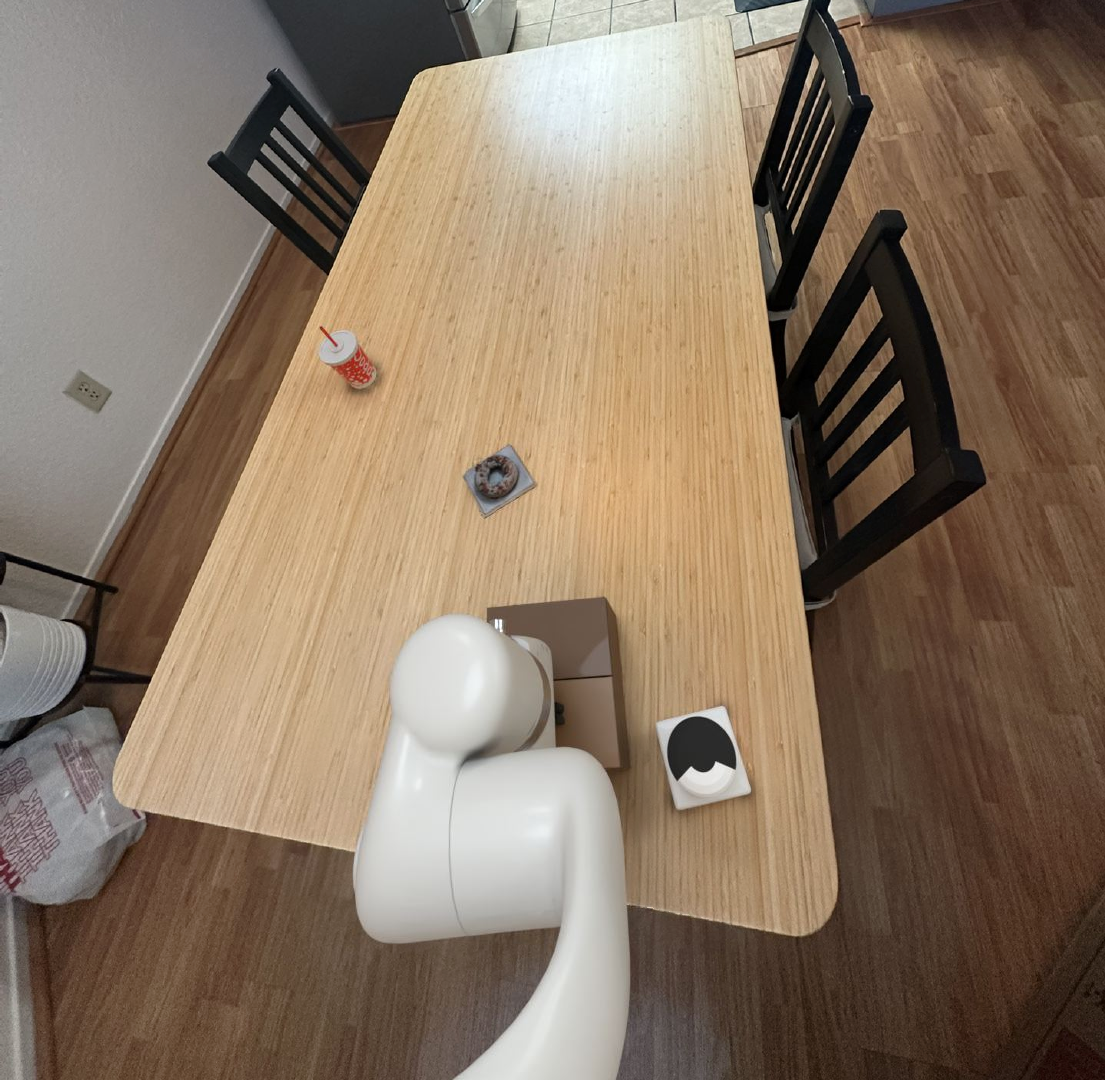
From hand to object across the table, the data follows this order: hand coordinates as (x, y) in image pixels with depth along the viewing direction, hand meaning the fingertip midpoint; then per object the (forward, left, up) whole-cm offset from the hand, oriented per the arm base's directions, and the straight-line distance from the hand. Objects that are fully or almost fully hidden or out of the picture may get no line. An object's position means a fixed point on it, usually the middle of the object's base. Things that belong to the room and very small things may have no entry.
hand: (548, 715), depth 60 cm
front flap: (-1, 0, 0) cm, 1 cm away
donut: (+29, +8, -11) cm, 32 cm away
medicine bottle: (-4, -14, -11) cm, 18 cm away
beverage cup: (+50, +31, -11) cm, 60 cm away
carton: (+3, 0, -10) cm, 11 cm away
